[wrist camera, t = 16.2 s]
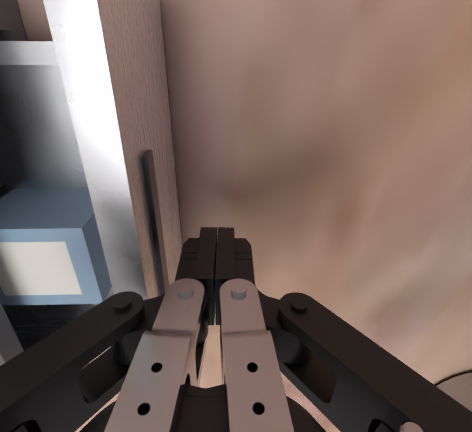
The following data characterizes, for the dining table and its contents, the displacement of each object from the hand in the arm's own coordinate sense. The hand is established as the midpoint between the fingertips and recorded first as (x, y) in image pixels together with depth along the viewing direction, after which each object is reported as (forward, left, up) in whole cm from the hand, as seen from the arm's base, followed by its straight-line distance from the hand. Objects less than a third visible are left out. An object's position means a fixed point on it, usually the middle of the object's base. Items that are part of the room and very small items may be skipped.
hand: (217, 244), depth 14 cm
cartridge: (0, +8, -3) cm, 8 cm away
